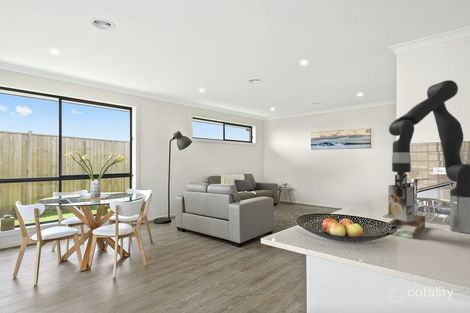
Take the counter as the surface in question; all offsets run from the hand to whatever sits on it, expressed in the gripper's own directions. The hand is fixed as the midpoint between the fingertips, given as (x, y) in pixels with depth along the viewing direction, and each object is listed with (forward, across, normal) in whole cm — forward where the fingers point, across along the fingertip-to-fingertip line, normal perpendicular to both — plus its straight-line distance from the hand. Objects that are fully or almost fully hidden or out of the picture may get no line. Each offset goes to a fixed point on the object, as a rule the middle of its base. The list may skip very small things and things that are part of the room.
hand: (401, 195), depth 122 cm
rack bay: (+18, +7, 0) cm, 19 cm away
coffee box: (+11, 0, 0) cm, 11 cm away
